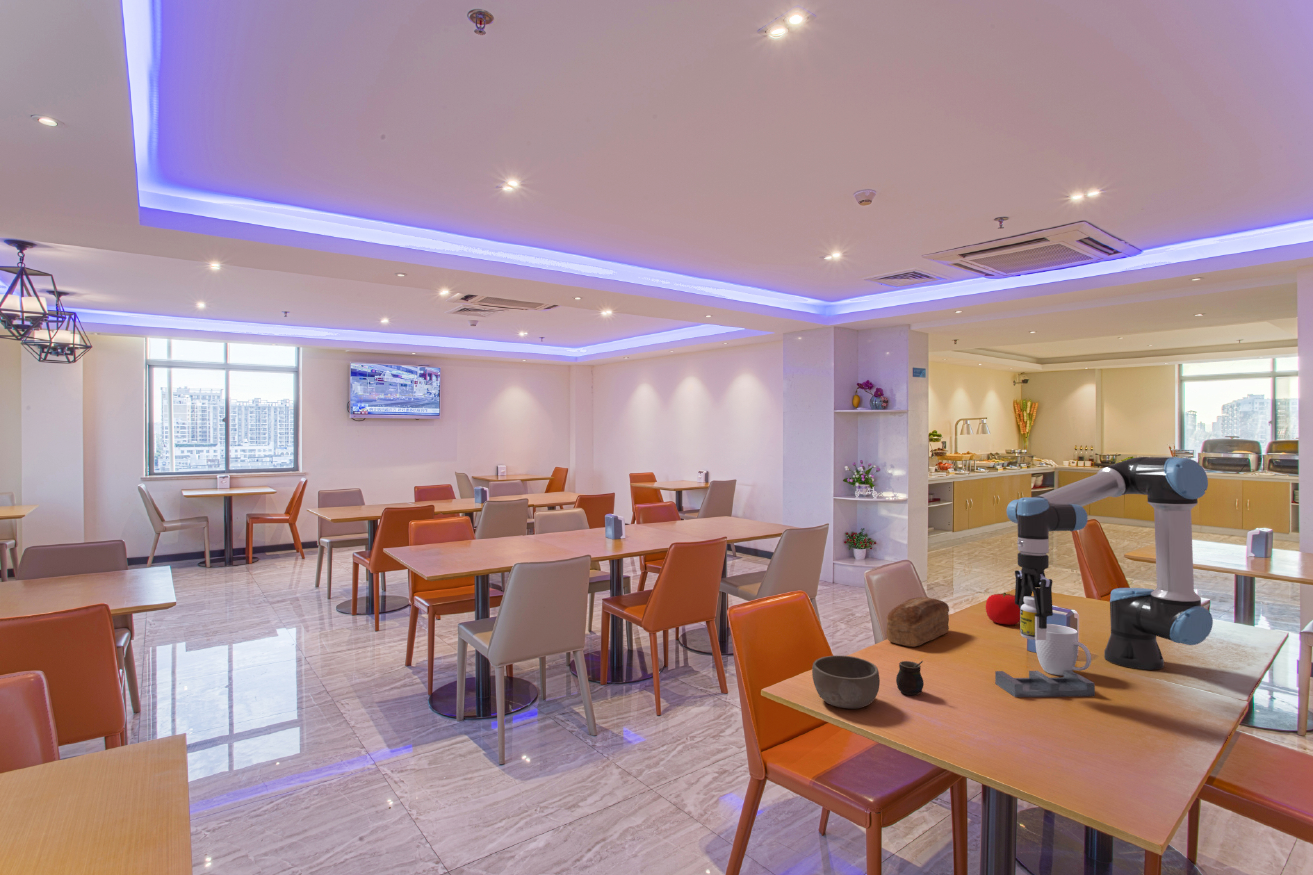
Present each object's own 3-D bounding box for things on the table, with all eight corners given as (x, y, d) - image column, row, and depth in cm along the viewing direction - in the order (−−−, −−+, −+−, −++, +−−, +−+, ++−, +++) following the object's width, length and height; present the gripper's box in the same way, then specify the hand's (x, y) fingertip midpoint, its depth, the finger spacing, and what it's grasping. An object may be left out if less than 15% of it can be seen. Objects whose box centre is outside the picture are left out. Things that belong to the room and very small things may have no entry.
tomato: (993, 627, 245) (992, 596, 245) (981, 617, 259) (981, 588, 259) (1030, 629, 243) (1029, 597, 243) (1016, 619, 257) (1015, 589, 257)
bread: (954, 632, 239) (954, 595, 240) (915, 651, 218) (915, 610, 219) (921, 626, 248) (921, 590, 248) (881, 643, 227) (881, 604, 227)
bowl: (845, 721, 164) (844, 681, 164) (798, 697, 180) (798, 660, 180) (894, 708, 172) (894, 669, 172) (846, 685, 188) (845, 650, 188)
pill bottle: (1015, 634, 185) (1015, 595, 185) (1036, 634, 186) (1035, 595, 186) (1030, 641, 179) (1030, 600, 179) (1051, 640, 180) (1051, 600, 180)
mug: (1099, 677, 193) (1099, 633, 193) (1081, 685, 187) (1081, 639, 187) (1046, 663, 205) (1046, 621, 205) (1028, 670, 199) (1027, 627, 199)
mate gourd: (902, 685, 187) (903, 650, 187) (929, 693, 182) (929, 657, 182) (891, 692, 182) (891, 656, 182) (918, 700, 177) (918, 663, 177)
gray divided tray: (1071, 682, 189) (1070, 670, 189) (1094, 696, 179) (1094, 683, 179) (995, 683, 188) (995, 671, 188) (1014, 697, 178) (1014, 683, 178)
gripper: (1000, 547, 192) (1000, 626, 192) (1040, 559, 173) (1041, 646, 173) (1025, 547, 193) (1025, 626, 192) (1068, 559, 173) (1068, 646, 173)
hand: (1033, 635), depth 183 cm, fingers closed on pill bottle, 6 cm apart
